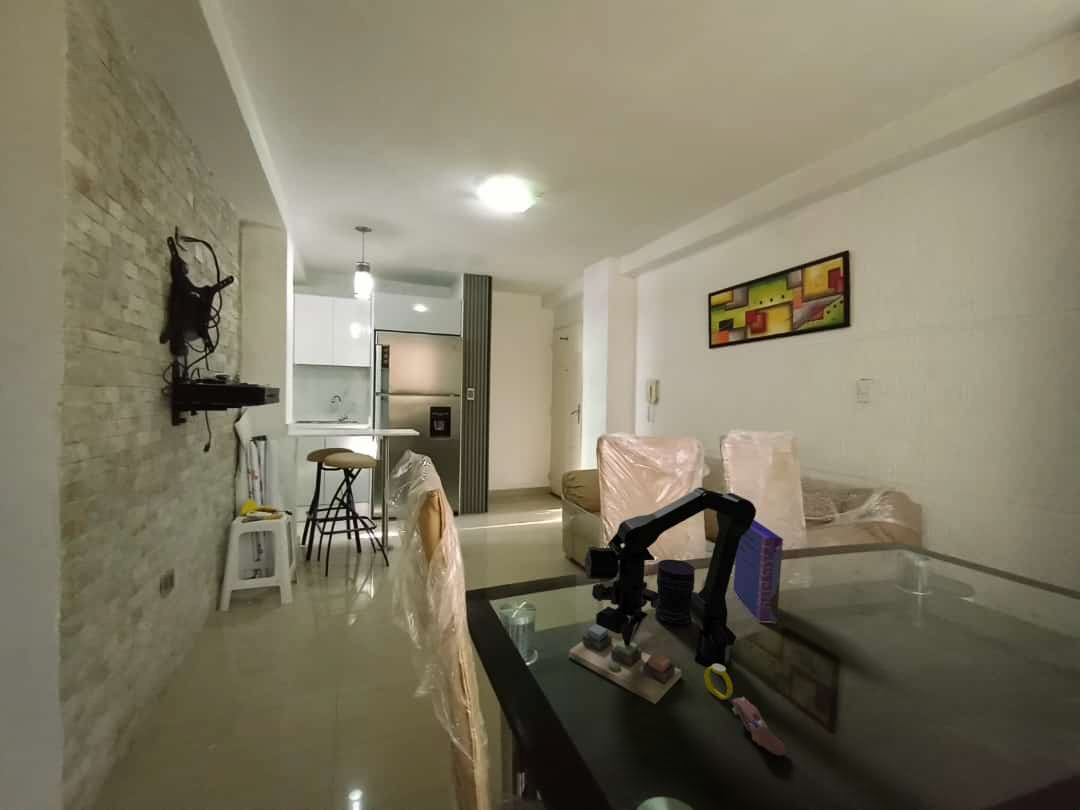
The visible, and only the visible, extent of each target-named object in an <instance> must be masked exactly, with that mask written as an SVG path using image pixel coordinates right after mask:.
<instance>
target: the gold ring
mask: <svg viewBox="0 0 1080 810" xmlns="http://www.w3.org/2000/svg"><path fill="white" fill-rule="evenodd" d="M726 668H727V667H726ZM726 668H725V667H724V666H723V665H721V664H713V665H712V666H710V667H708V666H707V667H706V669H705V670H704V675H703V677H704V683H705V685H706V688H707V689H708V691H709V693H711V694H713V695H714V696H715V697H717V698H718V699H719V700H727V699H728V698H730V697H731V696H732V694H733V681H732V680H731V678H730V675H729V674H728V673H727V669H726ZM711 671H712V672H713V673H715V674H716V675H720V676H721V677H722V678H723V679H724V681H725V684H726V688H727V691H726V694H724V695H723V694H722V693H721V692H720V691H718V690H717V689H715V687H714V686H713V684H712V682H711V677H710V674H711Z"/></svg>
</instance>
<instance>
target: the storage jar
mask: <svg viewBox="0 0 1080 810" xmlns="http://www.w3.org/2000/svg"><path fill="white" fill-rule="evenodd" d="M695 570H696V568H695V567H694V566H693V565H692V564H691V563H688V562H685V561H683V560H678V559H663V560H660V561H658V563H657V572H656V585H657V591H656V592H657V594H658V595H659V597H660V599H659V605H658V606H657V607H655V608H654V611H655V614H654V618H655V620H656V622H657V623H659V624H660V625H661V626H664V627H666V628H669V629H673V628H675V630H683V629H682V628H686V629H688V628H690V627H691V626H692V620H693V619H692V617H691V615H690V608H689V607H688V605H689V604H690V602H691V598H692V593H693V592H694V589H695V579H696V578H695V572H696V571H695ZM690 625H691V626H690ZM689 626H690V627H689ZM687 627H688V628H687Z"/></svg>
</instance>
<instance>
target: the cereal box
mask: <svg viewBox="0 0 1080 810" xmlns="http://www.w3.org/2000/svg"><path fill="white" fill-rule="evenodd" d="M783 544H784V538H782V537H781V536H779V535H778V534H776V533H775V532H773V531H772V530H770V529H768V528H767V527H765V525H763V524H761V523H760V522H758V521H757V520H755V519H754V520H753V522H752V525H751V527H750V529H749V530H748V531H747V532H746V533H745V534H744V535H743V536H742V537H741V539H740V542H739V546H738V550H737V553H736V557H735V561H734V577H733V590H734V591H735V593H736V594H737V596H738V597H739V599H740V600H741V601H742V603H743V604H744V605H745V606H746V607H747V608H748V609H749V611H751V613H752V614H753V615H754V616H755V617H756V618H757V619H758V620H759V621H772V622H777V623H778V612H779V599H780V583H781V571H782V557H783ZM739 599H738V600H739ZM742 603H741V604H742ZM743 604H742V605H743ZM744 605H743V606H744ZM745 606H744V607H745ZM746 607H745V608H746ZM749 611H748V612H749ZM751 613H750V614H751ZM752 614H751V615H752ZM753 615H752V616H753ZM754 616H753V617H754Z"/></svg>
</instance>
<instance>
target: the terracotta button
mask: <svg viewBox="0 0 1080 810" xmlns="http://www.w3.org/2000/svg"><path fill="white" fill-rule="evenodd" d="M650 656H651V657H649V661H648V666H650V667H652V668H654V669H656V670H658V671H660V672H662V673H664V672H665V671H666V670H667V669H668V668H669V667H670V663H671V658H670V657H669V656H666V655H664V654H662V653H659V652H658V651H655V652H653V654H652V655H650Z"/></svg>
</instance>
